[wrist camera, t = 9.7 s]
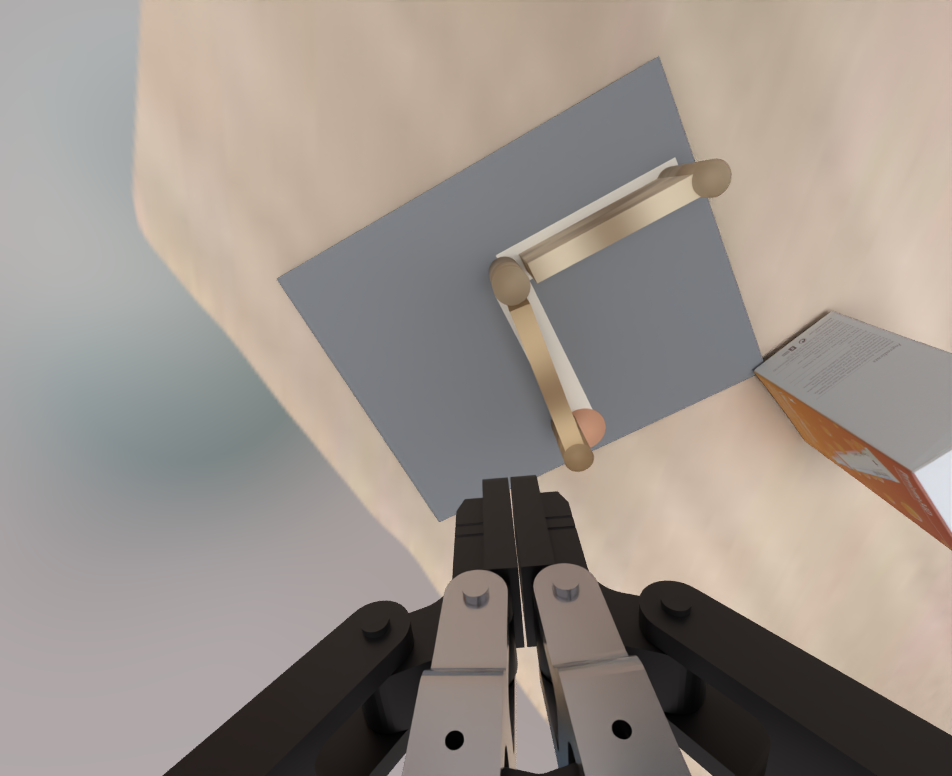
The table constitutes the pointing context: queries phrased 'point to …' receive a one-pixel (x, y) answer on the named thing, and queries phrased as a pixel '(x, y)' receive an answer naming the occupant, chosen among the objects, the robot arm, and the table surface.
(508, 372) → the card
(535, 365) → the fence gate
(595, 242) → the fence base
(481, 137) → the table surface
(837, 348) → the small box
